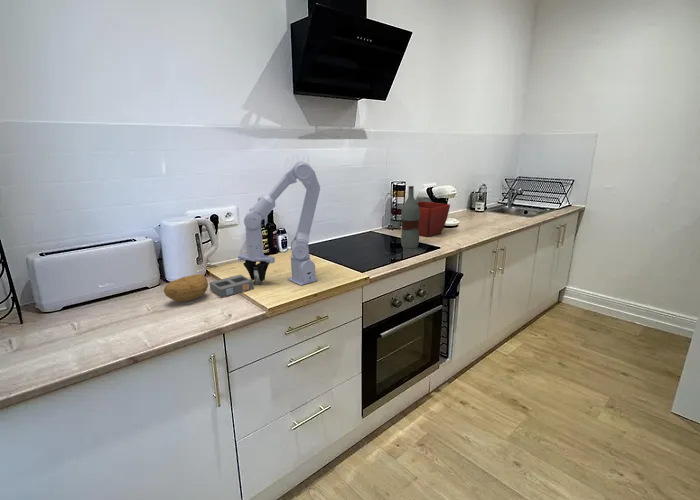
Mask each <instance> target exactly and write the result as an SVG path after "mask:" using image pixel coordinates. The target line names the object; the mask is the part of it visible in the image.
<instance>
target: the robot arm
mask: <svg viewBox="0 0 700 500" xmlns="http://www.w3.org/2000/svg"><path fill="white" fill-rule="evenodd" d="M297 180H298V181H299V182H301V183H302V185H303V186H304V188H305V190H306V192H305V196H304V200H303V204H302V208H301V212H300V217H299V222H298V226H297V230H296V232H295V235H294V236H295V237H294V238H293V239H292V241H291V242H290V249H291V256H290V266H291V267H290V270H291V272H290V273H291V277H287V278H286V279H287V280H288V281H290V282H292V283H295V284H297V285H299V286H305V285H307V284H311V283H315V282H317V281H319V279H318V278H317V277H316V276H317V275H316V274H317V273H316V264H315V262H314V261H313V260H311V256H310V254H309V253H310V249H309V242H310V233H311V230H312V225H313V221H314V217H315V213H316V208H317V204H318V201H319V196H320V192H321V186H320V183H319V181H318V177H317V175H316V171H315V170H314V168H313V167H312V166H311V165H310V164H309V163H307V162H305V161H298V162H296V163H295V164H294V165H293V167H291V168H290V169H288V170H287V171H286V172H285V173H284V174H283V175H282V177H281V178H280V179H279V181H278V182H277V183H276V184H275V186H274V187H273V188H272V190H271V191H270V192H269V193H268V194H265V195H263V194H262V196H259V197H257V202H255V204H254V205H253V206H252V207H250V208H249V212H247V213H246V215H245V216H244V219H243V224H244V226H245V239H246V241H245V242H246V248H247V249H246V250H247V254H242V253H241V254H239V255H237V259H238V260H237V261H241V262H242V261H244V263H243V266H244V268H245V269H246V270H247V272H248V275H249V277H250V280H252V281H254V275H253V269H252V266H253V265H257V267H258V270H259V276H260V281H262V282H263V281H265V280H266V274H267V269H268V267H269V265H270V264H272V265H273V264H275V263H276V259H275V258H276V257H275V256H271V255H265V254H264V241H263V232H262V227H261V225H262V221H263V220H266V218H267V216H268V215H269V214H270V213H271V212H272V211H273V209H274V208H275V207H276V200H277V199H278V198H279V197H280V196H281V195H282V194H283V192H284V191H285V190H286V189H287V188H288V187H289V186H290V185H293V184H296V183H298V181H297Z"/></svg>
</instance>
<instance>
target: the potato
mask: <svg viewBox="0 0 700 500" xmlns="http://www.w3.org/2000/svg"><path fill="white" fill-rule="evenodd" d="M208 287H209V282H208V279H207V277H206V276H205V275H204V274H200V273H199V274H198V273H197V274H192V275H189V276H188V275H187V276H182V277H180V278H177V279H174V280H172V281H170V282H168V283H167V284H166V285H165V286H164V289H163V293H164V294H165V296H166V297H167V298H168V299H170V300H172V301H174V302H178V303H186V302H190V301H193V300H195V299H198V298H199V297H201V296H203V295H204V294H206V292H207V290H208Z"/></svg>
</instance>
